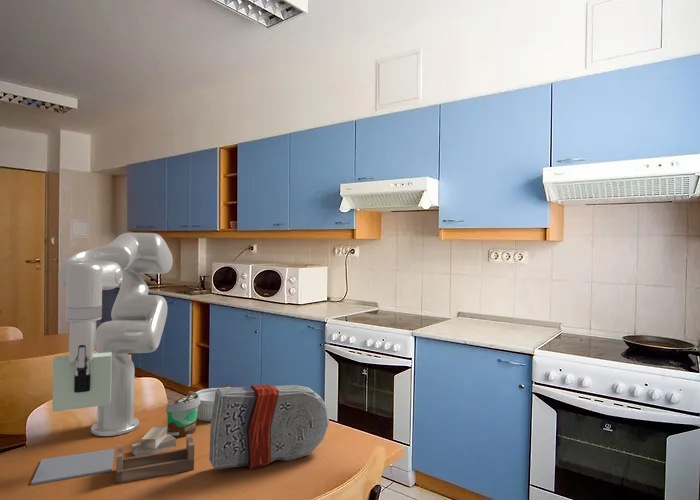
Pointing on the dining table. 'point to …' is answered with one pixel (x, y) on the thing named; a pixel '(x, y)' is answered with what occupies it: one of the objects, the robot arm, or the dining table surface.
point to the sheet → (65, 383)
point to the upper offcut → (154, 437)
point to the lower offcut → (165, 444)
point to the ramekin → (206, 404)
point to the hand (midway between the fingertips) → (83, 387)
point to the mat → (74, 466)
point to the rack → (154, 463)
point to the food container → (183, 415)
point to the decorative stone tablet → (265, 425)
